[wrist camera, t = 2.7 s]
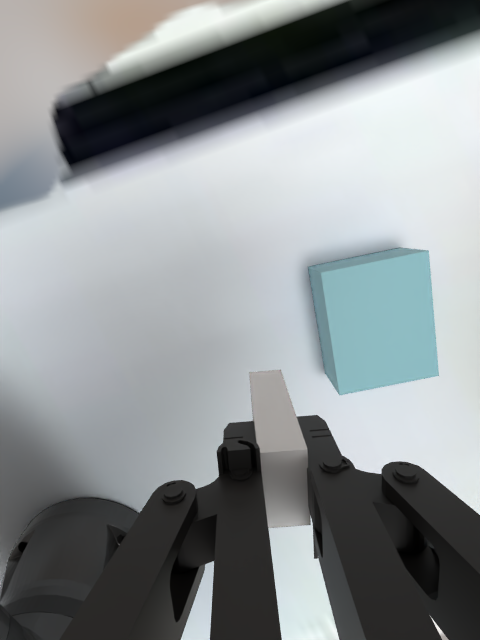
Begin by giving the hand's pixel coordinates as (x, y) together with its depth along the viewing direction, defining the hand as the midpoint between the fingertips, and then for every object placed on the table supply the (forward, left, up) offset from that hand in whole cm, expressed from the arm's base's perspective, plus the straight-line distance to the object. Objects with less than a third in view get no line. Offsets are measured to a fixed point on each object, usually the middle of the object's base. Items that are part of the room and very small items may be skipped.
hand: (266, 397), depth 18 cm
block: (+10, 0, -16) cm, 19 cm away
